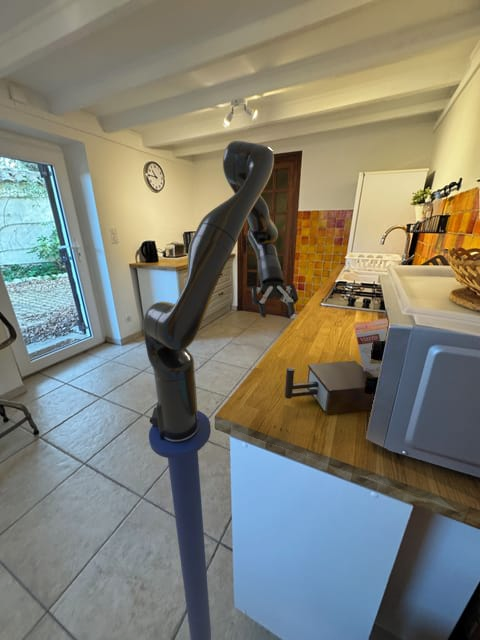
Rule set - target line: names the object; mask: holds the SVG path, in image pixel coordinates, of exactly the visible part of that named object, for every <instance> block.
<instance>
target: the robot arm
mask: <svg viewBox="0 0 480 640" xmlns="http://www.w3.org/2000/svg"><path fill="white" fill-rule="evenodd" d="M274 155H275V154H274V152H273V150H272V148H270V147H269V146H268V145H264V144H261V143H255V142H249V141H245V140H233V141H230V142H229V143H228V145H227V146H226V147H225V150H224V153H223V156H222V157H223V158H222V169H223V175H224V178H225V179H226V182H227V183H228V185H229V186H230V187H229V188H230V189H231V190H232V192H233V193H234V194H233V195H232V196H231V197H229V198H228V199H226V200H225V201H224V202H222V203H221V204H219V205H217V206H216V207H215V208H213V209H212V210H210V211H209V212H208V213H207V214H205V216H204V217H203V218H202V219H201V221H200V222H199V223H198V225H197V228H196V229H195V232H194V234H193V236H192V237H191V240H190V243H189V245H188V250H187V251H188V252H187V275H186V280H185V283H184V285H183V288H182V289H181V290H182V291H181V292H180V294H179V296H178V299H176V301H175V303H173V302H169V301H158V302H155V303H153V304H152V305H151V306H149V307H148V309H146V312H145V313H144V316H143V320H142V329H143V330H142V331H143V337H144V342H145V348H146V349H145V350H146V353H147V359H148V361H149V363H150V365H151V368H152V370H153V376H154V384H155V391H156V393H155V394H156V399H157V401H156V406H155V407H154V408H153V410H152V415H151V417H150V418H149V423H150V424H151V426H152V425H153V427H159V433H160V440H166V441H168V442H172V443H180V442H184V441H187V440H189V439H191V438H192V437H193V436H195V434H196V433H197V431H198V429H199V422H198V411H199V410H198V398H197V386H196V385H197V384H196V371H195V370H196V369H195V368H196V367H195V360H194V357H193V355H192V354H191V352H190V351H189V350H188V349H187V348H188V347H189V346H191V344H193V342H194V341H195V339H196V338H197V336H198V334H199V332H200V329H201V327H202V324H203V321H204V320H205V319H204V318H205V315H206V313H207V310H208V307H209V304H210V301H211V299H212V296H213V294H214V291H215V289H216V286H217V284H218V283H219V280H220V277H221V275H222V274H223V271H224V268H225V267H226V264H227V263H228V261H229V259H230V257H231V255H232V253H233V252H234V251H233V250H234V248H235V246H236V244H237V242H238V240H239V238H240V235H241V233H242V231H243V228H244V226H245V224H246V222H247V223H248V225H249V229H248V230H247V238H248V241H249V243H250V245H251V246H252V248H253V250H254V253H255V256H256V262H257V274H258V278H259V284H260V287H259V286H257V285H253V286H252V287H251V301H252V306H254V307H255V306H256V307H258V308H259V314H260V317H262V318H267V311H266V304H265V303H266V302H267V300H268V301H274V300H275V301H281V302H282V303H284V304H286V305H287V306H286V307H287V311H288V316H289V317H293V316H294V315H295V312H296V310H295V305H296V304H297V302H298V301H299V296H298V293H297V289H296V286H295V284H290V285H287V286H286V284H285V281H284V277H283V272H282V267H281V263H280V261H279V257H278V252H277V248H276V246H275V245H274V244H273V243H274V242H276V240H277V239H278V237H279V236H278V235H279V233H278V228H277V226H276V225H275V223H274V221H273V220H272V219H271V216H270V211H269V206H268V204H267V202H266V200H265V199H264V197H263V196H262V193H263V192H264V190H265V188H266V187H267V185H268V182H269V180H270V178H271V176H272V172H273V169H274V165H275V156H274ZM259 293H260V294H262V295H263V296H262V298H261V299H259V298H258V297H259V296H258V295H259ZM197 410H198V411H197Z"/></svg>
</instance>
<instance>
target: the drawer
mask: <svg viewBox="0 0 480 640" xmlns="http://www.w3.org/2000/svg"><path fill="white" fill-rule="evenodd" d="M294 379H295V368H294V367H291V366H290V367H289V366H288V367H286V376H285V388H284V397H285V399H288V400H290V399H292V398H296V397H306V396H314V398H315V399H316V401H317V402H318V404H319V405H320V406H321V409H323V411H324V412H326V410H327V403H328V396H329V392H328V391H327V390H326V389H325V387H324V386H323V385H322V384H321V382H320V381H319V380H318V379H317V377H316V376H315V375H314V374H313V372H312V371H311V370H310V374H309V382H308V381H306V382H304V381H303V382H295V383H294Z"/></svg>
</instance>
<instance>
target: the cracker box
mask: <svg viewBox="0 0 480 640" xmlns="http://www.w3.org/2000/svg"><path fill="white" fill-rule="evenodd" d="M387 318H388V317H385V318H380V319H374V320H369V321H361V322H357V323H353V328H354V333H355V337H356V342H357V346H358V352H359V357H360V361H361V366H362V367H363V370H364V371H368V372H369V373H370V374H372V375H373V376H374V377H378V374H379V370H380V366H381V361H377V360H373V359H371V350H372V344H373V341H374V340H380V341H384V340H385V338H386V333H387V326H388V320H387Z"/></svg>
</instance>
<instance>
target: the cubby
mask: <svg viewBox="0 0 480 640" xmlns="http://www.w3.org/2000/svg"><path fill="white" fill-rule="evenodd" d="M307 368H308V374H307V382H309V374H310V370H311V371H312V372H313V374H314V375H315V376H316V377H317V379H318V380H319V381H320V382H321V384H322V385H323V386H324V387H325V389H326V390H327V391H328V392H329V396H328V403H327V410H326V411H325V414H326V415H337V414H338V415H339V414H345V413H355V412H365V411H372V410H371V409H372V404H373V400H374V395H368V394H365V393H364V386H365V379H366V376H372V377H374V376H373V375H372V374H370V373H369V372H368V371H364V370H363V366H362V364H360V363H359V362H358V361H356V360H347V361H334V362H321V363H310V364H307Z"/></svg>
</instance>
